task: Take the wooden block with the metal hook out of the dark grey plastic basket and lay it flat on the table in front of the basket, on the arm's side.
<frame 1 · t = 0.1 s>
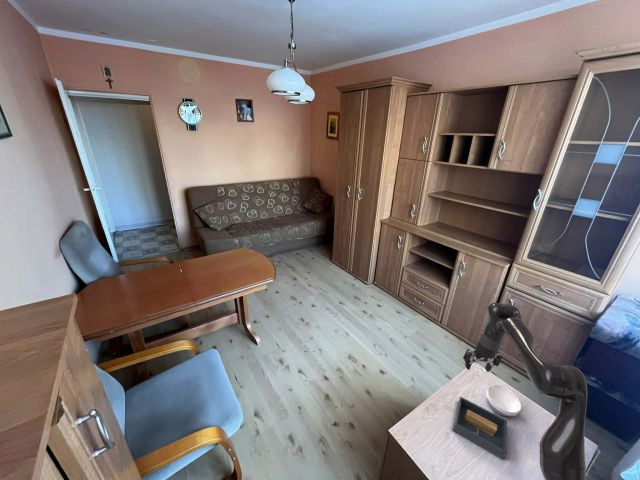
hand: (477, 369, 118), 28 cm above the table, tool pointing down, fingers open, 8 cm apart
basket: (477, 429, 122), on the table
bowl: (498, 407, 132), on the table
wooden block: (478, 425, 123), point 1 cm above the table, touching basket
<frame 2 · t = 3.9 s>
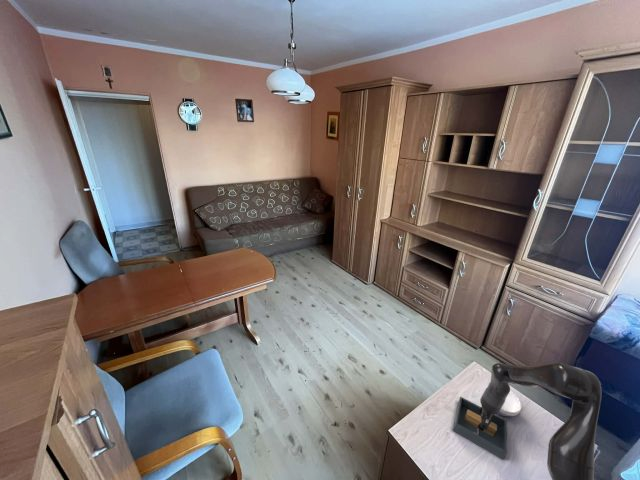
hand: (481, 420, 121), 4 cm above the table, tool pointing down, fingers open, 8 cm apart
nothing on the table moved.
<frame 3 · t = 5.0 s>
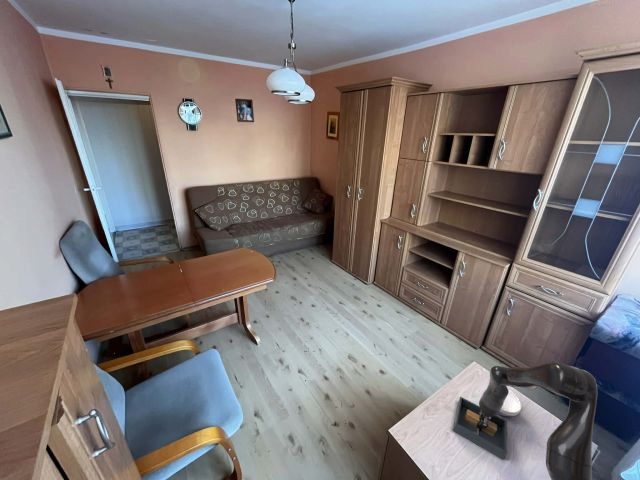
hand: (479, 424, 122), 2 cm above the table, tool pointing down, fingers closed on wooden block, 3 cm apart
wooden block: (478, 425, 123), point 1 cm above the table, touching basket, gripper
everything else where it was.
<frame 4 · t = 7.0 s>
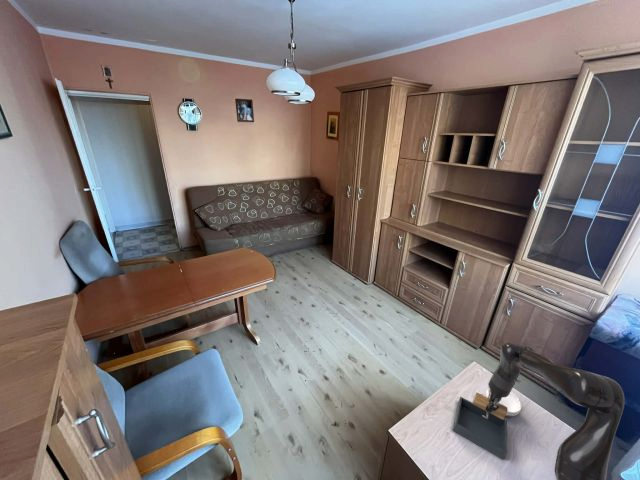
hand: (488, 407, 117), 14 cm above the table, tool pointing down, fingers closed on wooden block, 3 cm apart
wooden block: (487, 409, 117), point 13 cm above the table, touching gripper
everything else where it was.
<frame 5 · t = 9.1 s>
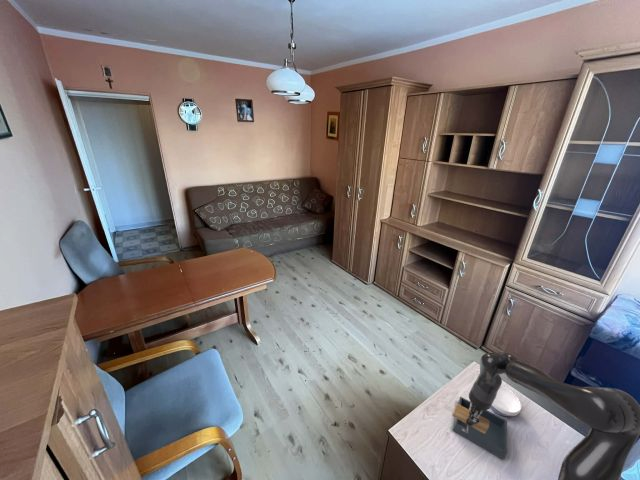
hand: (469, 420, 107), 19 cm above the table, tool pointing down, fingers closed on wooden block, 3 cm apart
wooden block: (468, 421, 108), point 18 cm above the table, touching gripper
everything else where it was.
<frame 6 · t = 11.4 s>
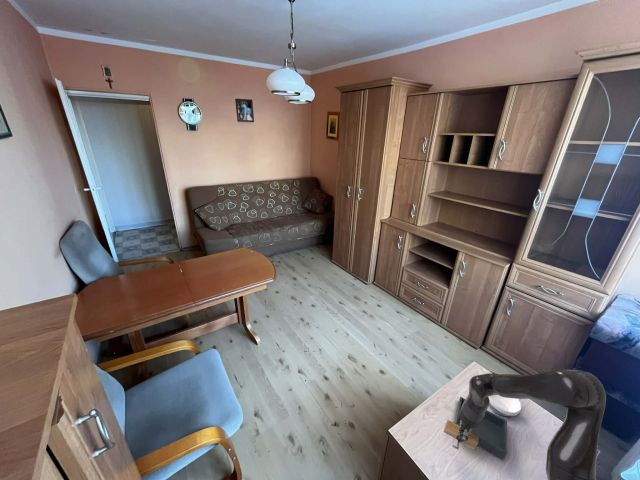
hand: (459, 436, 112), 8 cm above the table, tool pointing down, fingers closed on wooden block, 3 cm apart
wooden block: (458, 437, 112), point 7 cm above the table, touching gripper
everything else where it was.
when the fingers open (1 cm above the table, at t = 13.3 s): wooden block stays where it is, on the table.
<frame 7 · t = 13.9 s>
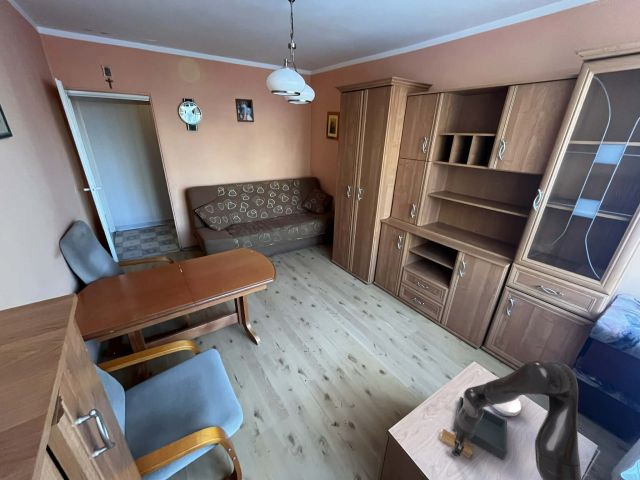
hand: (455, 445, 114), 2 cm above the table, tool pointing down, fingers open, 8 cm apart
wooden block: (454, 446, 115), on the table
everything else where it was.
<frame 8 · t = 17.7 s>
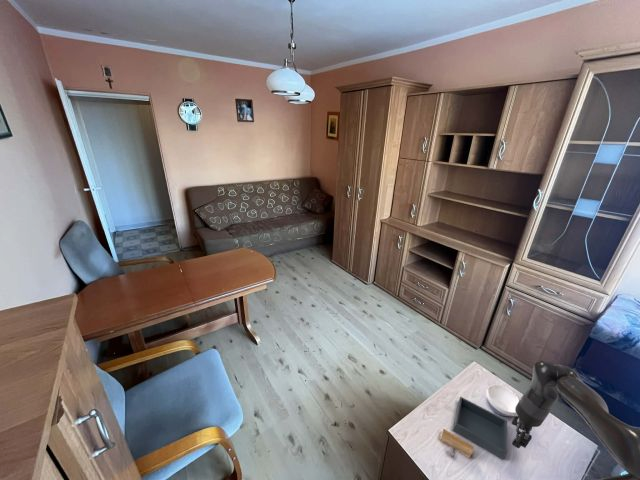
hand: (515, 434, 96), 26 cm above the table, tool pointing down, fingers open, 8 cm apart
nothing on the table moved.
at the end: wooden block inside the target area (0.1 cm from its centre), on the table; the gripper is holding nothing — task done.
